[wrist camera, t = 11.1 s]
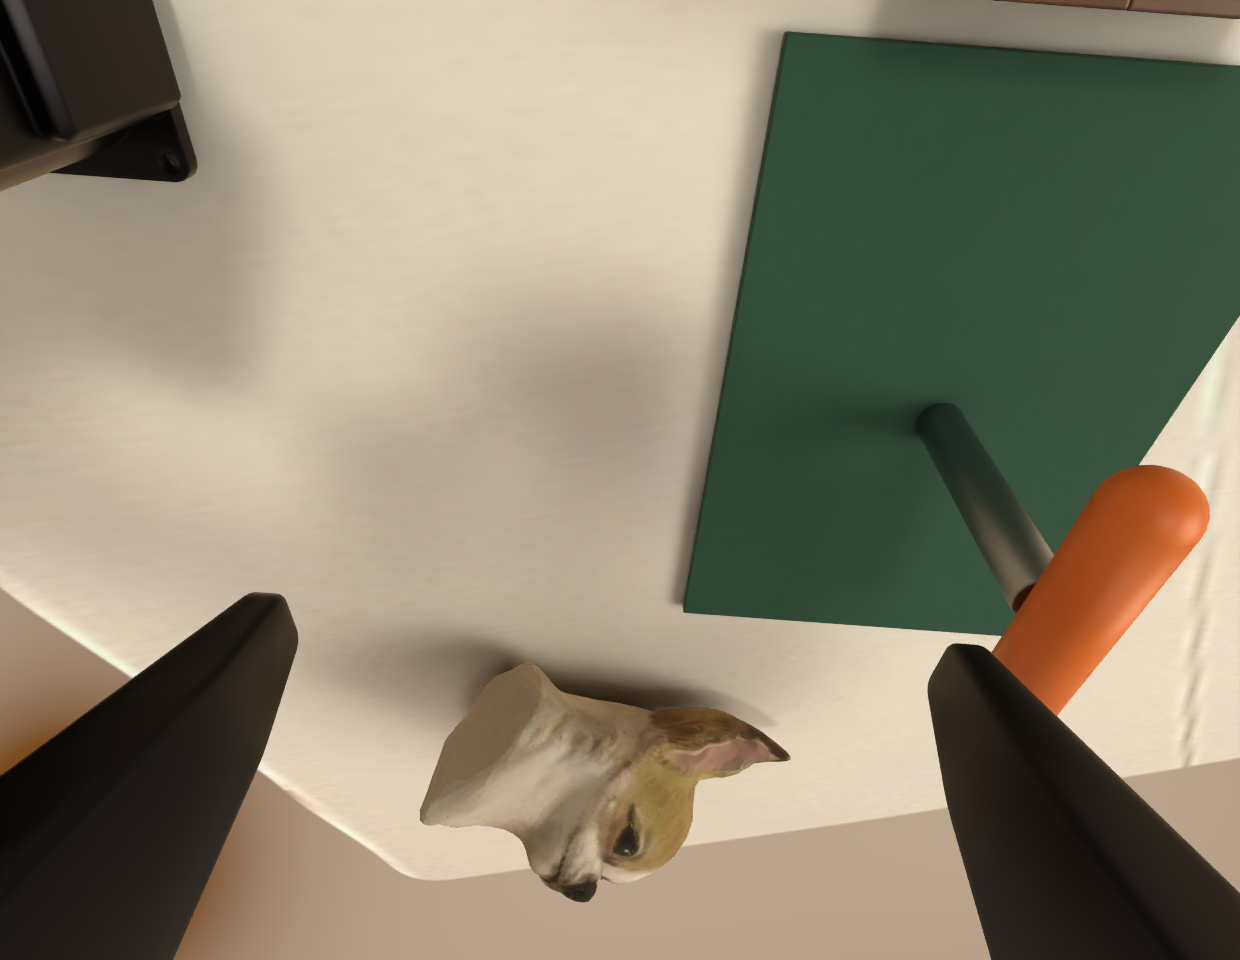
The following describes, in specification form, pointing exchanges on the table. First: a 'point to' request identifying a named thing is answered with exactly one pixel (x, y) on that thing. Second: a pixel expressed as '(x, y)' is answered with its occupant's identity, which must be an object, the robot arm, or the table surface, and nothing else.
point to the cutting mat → (957, 312)
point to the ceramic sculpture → (584, 777)
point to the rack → (1156, 6)
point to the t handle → (1067, 555)
